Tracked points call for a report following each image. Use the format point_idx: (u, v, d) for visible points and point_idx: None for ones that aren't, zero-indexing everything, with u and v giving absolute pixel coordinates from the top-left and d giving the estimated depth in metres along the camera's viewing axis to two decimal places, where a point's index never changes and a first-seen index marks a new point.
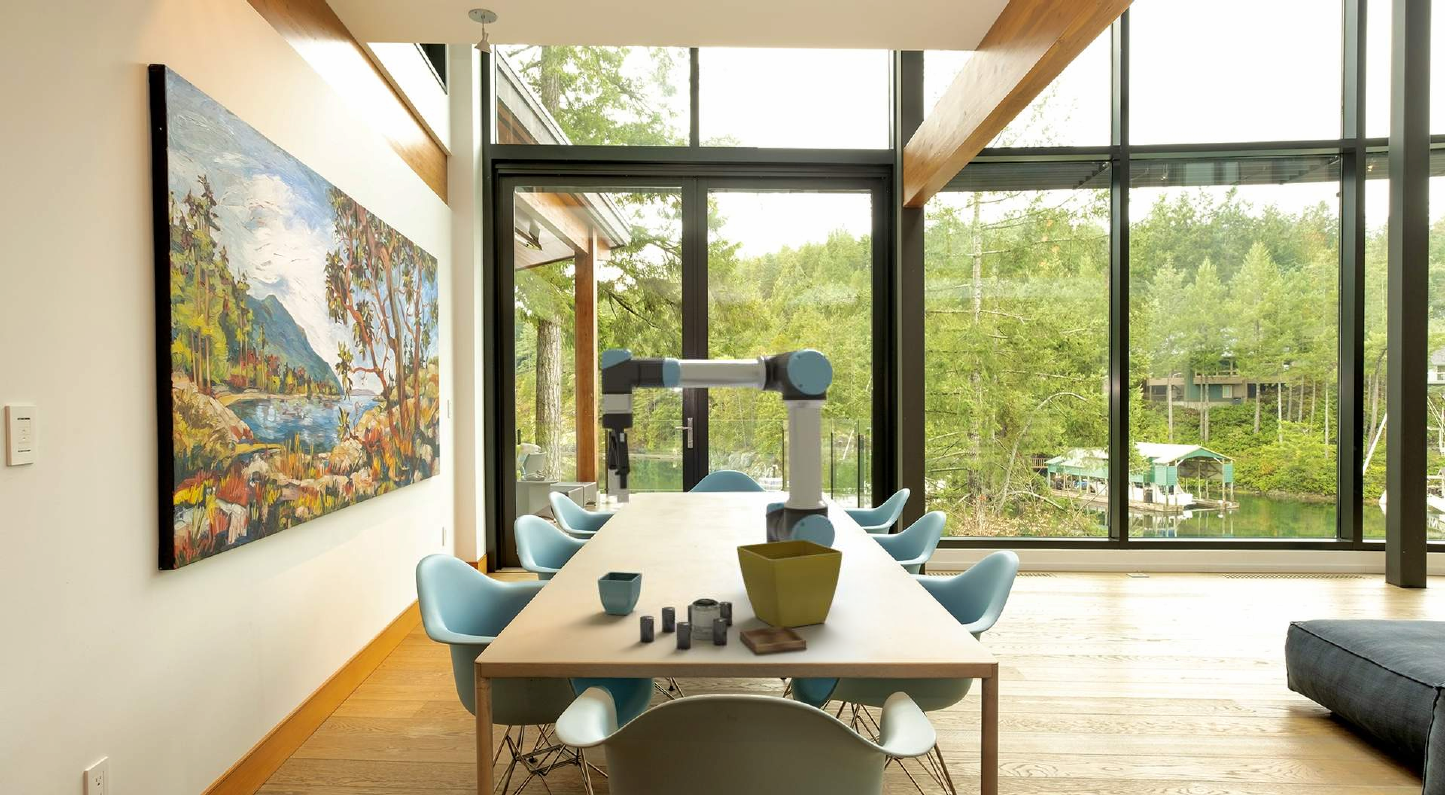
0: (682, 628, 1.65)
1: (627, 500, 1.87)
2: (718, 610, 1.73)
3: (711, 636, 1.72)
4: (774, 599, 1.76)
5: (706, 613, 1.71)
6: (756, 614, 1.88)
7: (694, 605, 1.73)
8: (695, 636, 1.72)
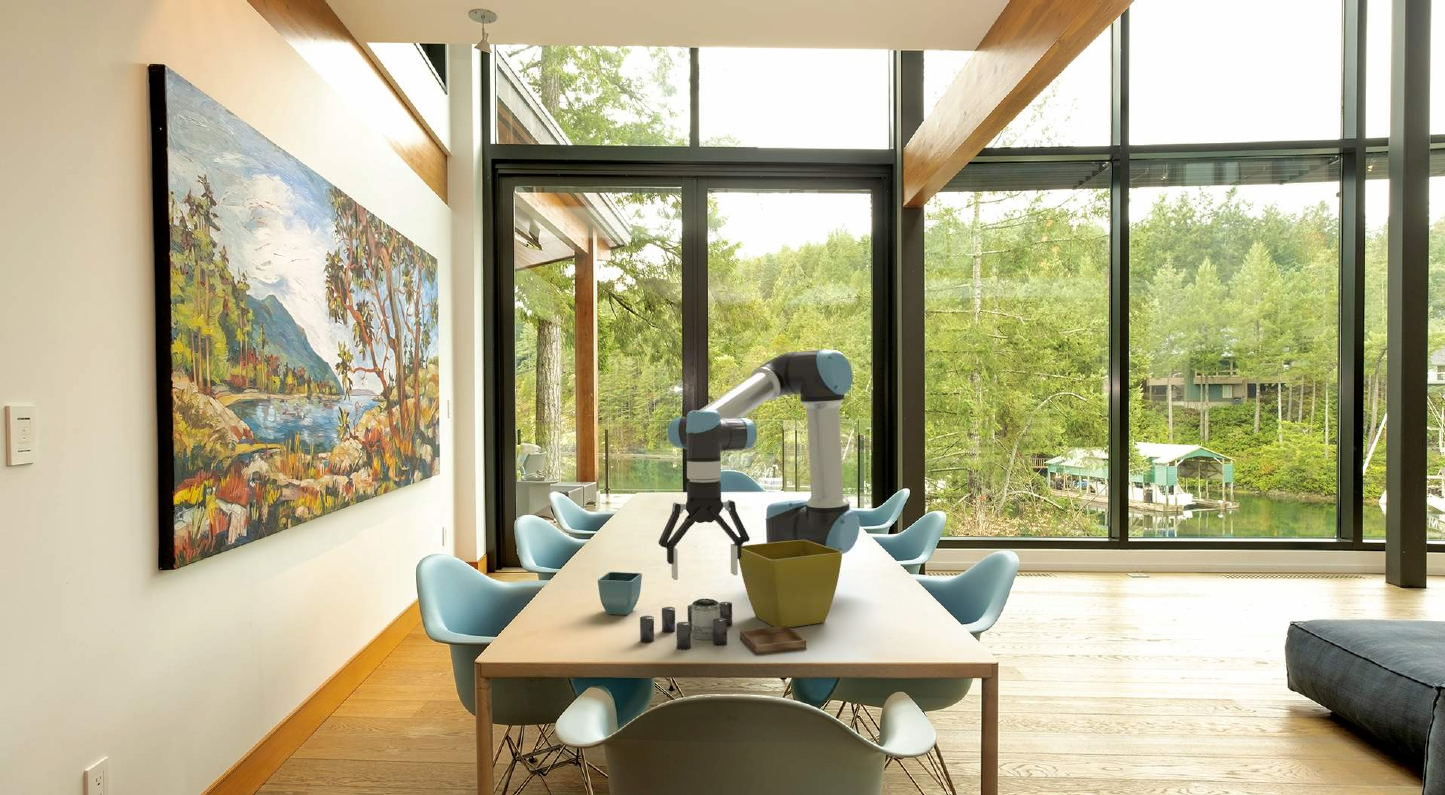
0: (682, 628, 1.65)
1: (674, 577, 1.71)
2: (718, 610, 1.73)
3: (711, 636, 1.72)
4: (774, 599, 1.76)
5: (706, 613, 1.71)
6: (756, 614, 1.88)
7: (694, 605, 1.73)
8: (695, 636, 1.72)
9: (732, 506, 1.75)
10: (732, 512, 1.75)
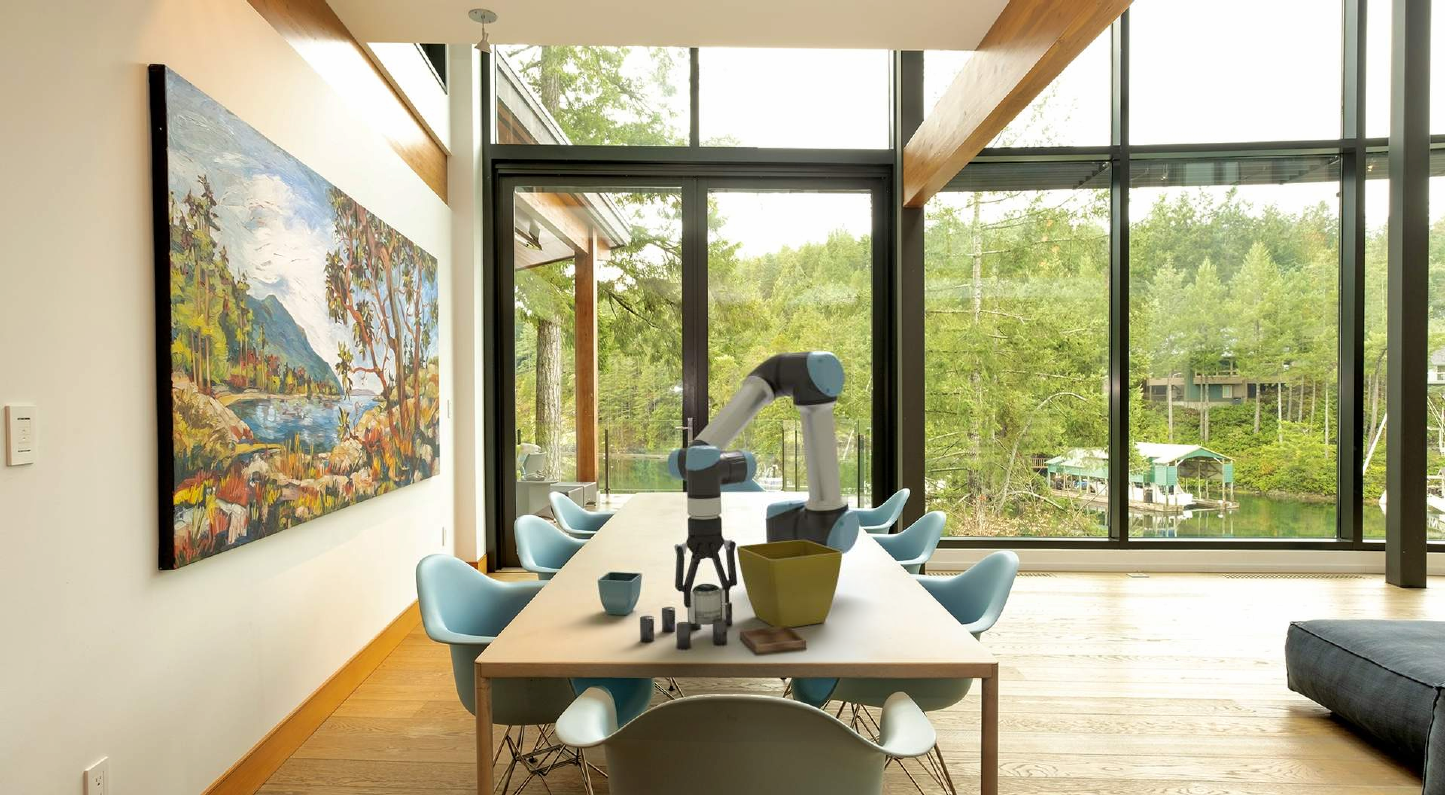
0: (682, 628, 1.65)
1: (691, 621, 1.72)
2: (719, 595, 1.73)
3: (712, 621, 1.72)
4: (774, 599, 1.76)
5: (707, 598, 1.71)
6: (756, 614, 1.88)
7: (695, 590, 1.73)
8: (696, 621, 1.73)
9: (732, 546, 1.75)
10: (730, 552, 1.75)
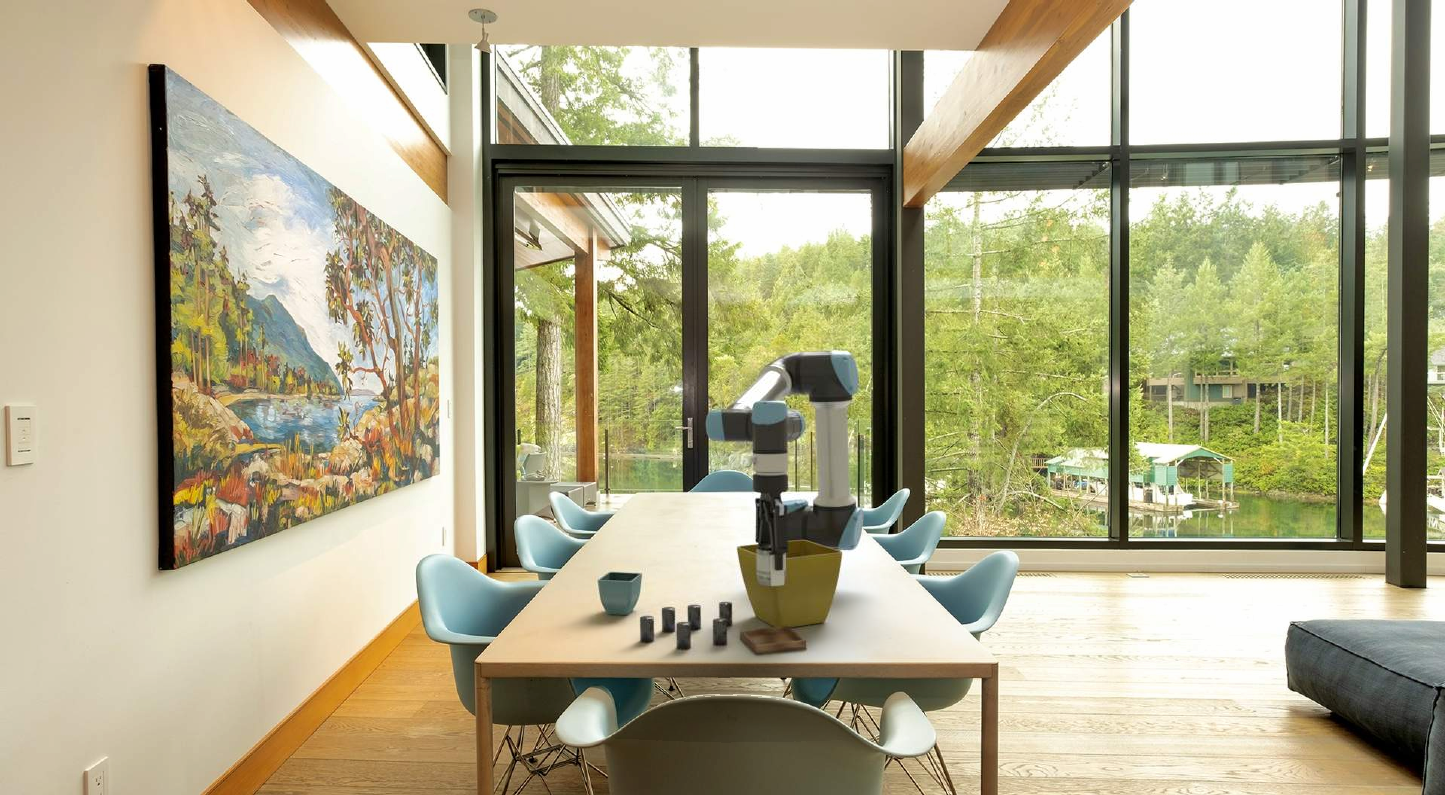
0: (682, 628, 1.65)
1: (782, 583, 1.64)
2: None
3: None
4: (774, 599, 1.76)
5: (785, 554, 1.68)
6: (756, 614, 1.88)
7: None
8: None
9: None
10: None
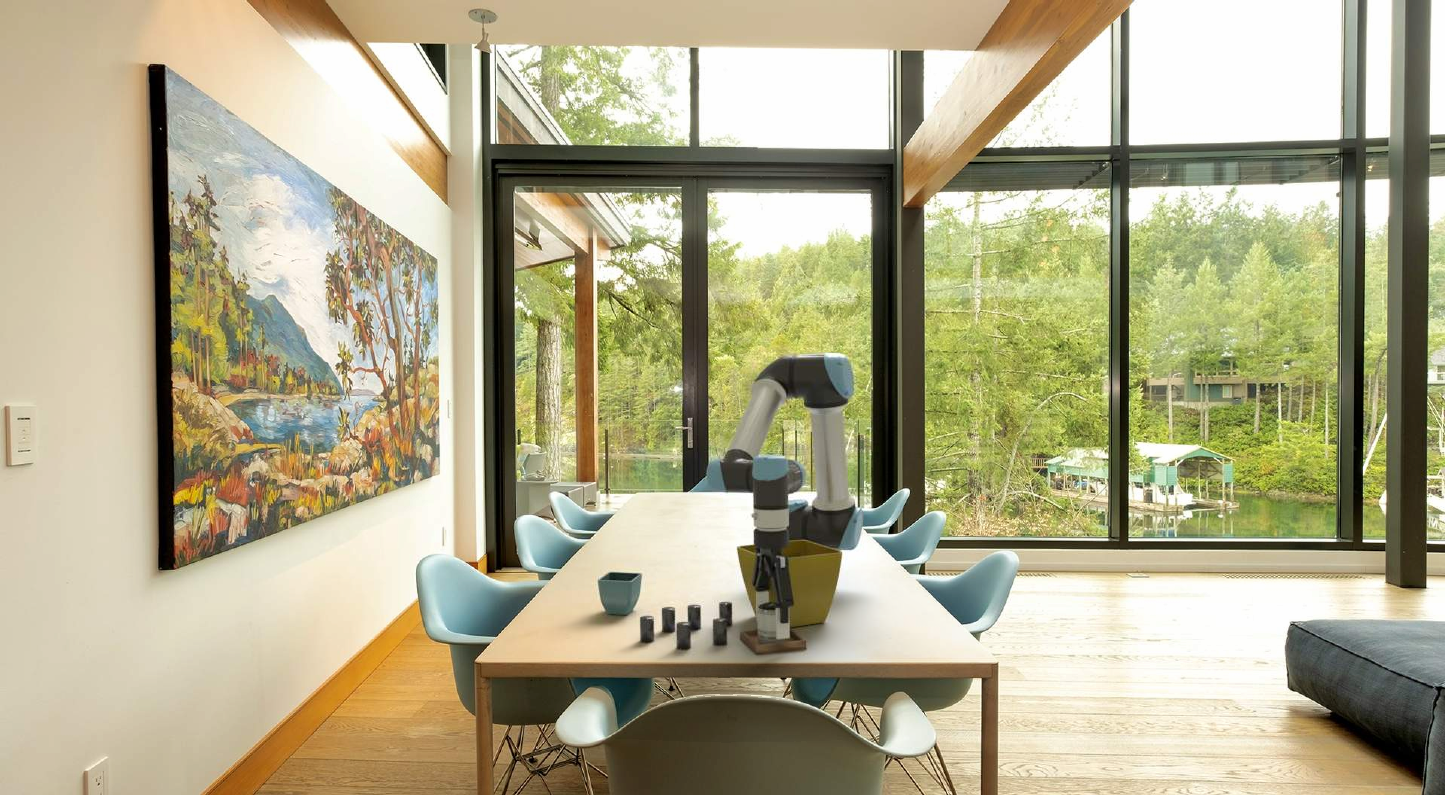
0: (682, 628, 1.65)
1: (788, 635, 1.62)
2: None
3: None
4: (774, 599, 1.76)
5: None
6: None
7: None
8: None
9: None
10: None
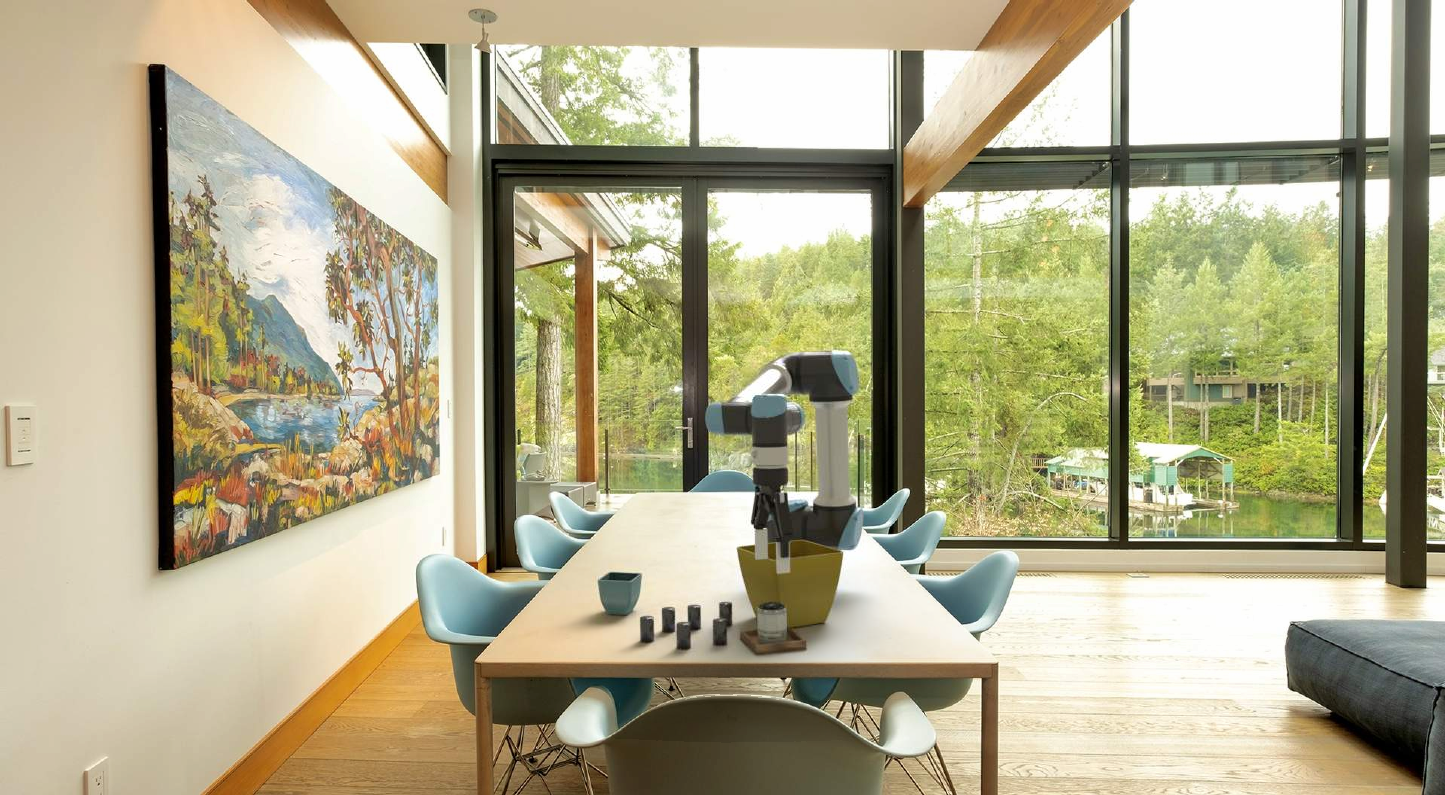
0: (682, 628, 1.65)
1: (788, 570, 1.62)
2: None
3: None
4: (777, 600, 1.75)
5: None
6: (756, 615, 1.87)
7: (780, 610, 1.66)
8: None
9: None
10: None
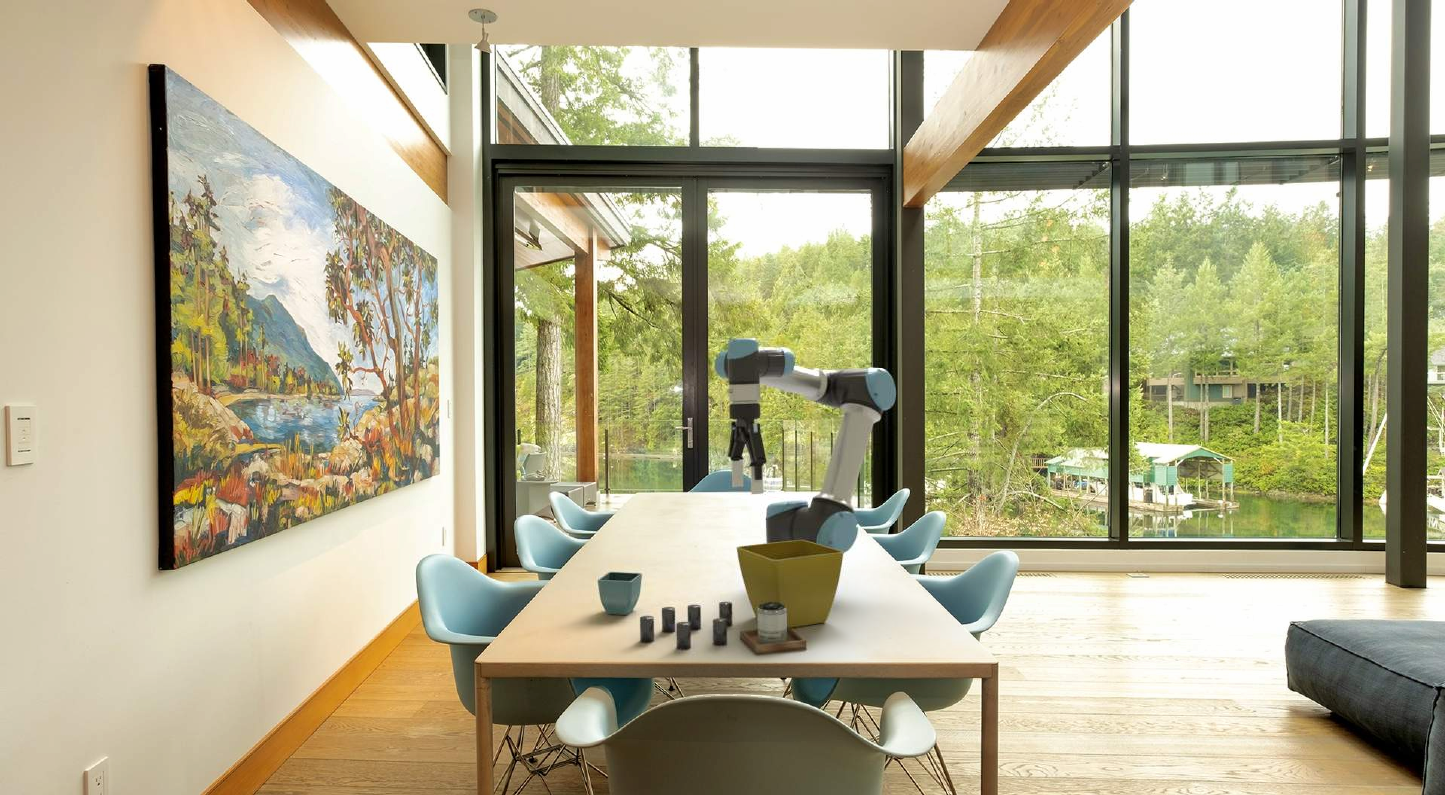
0: (682, 628, 1.65)
1: (761, 491, 1.84)
2: None
3: None
4: (777, 600, 1.75)
5: None
6: (756, 615, 1.87)
7: (780, 610, 1.66)
8: None
9: None
10: None
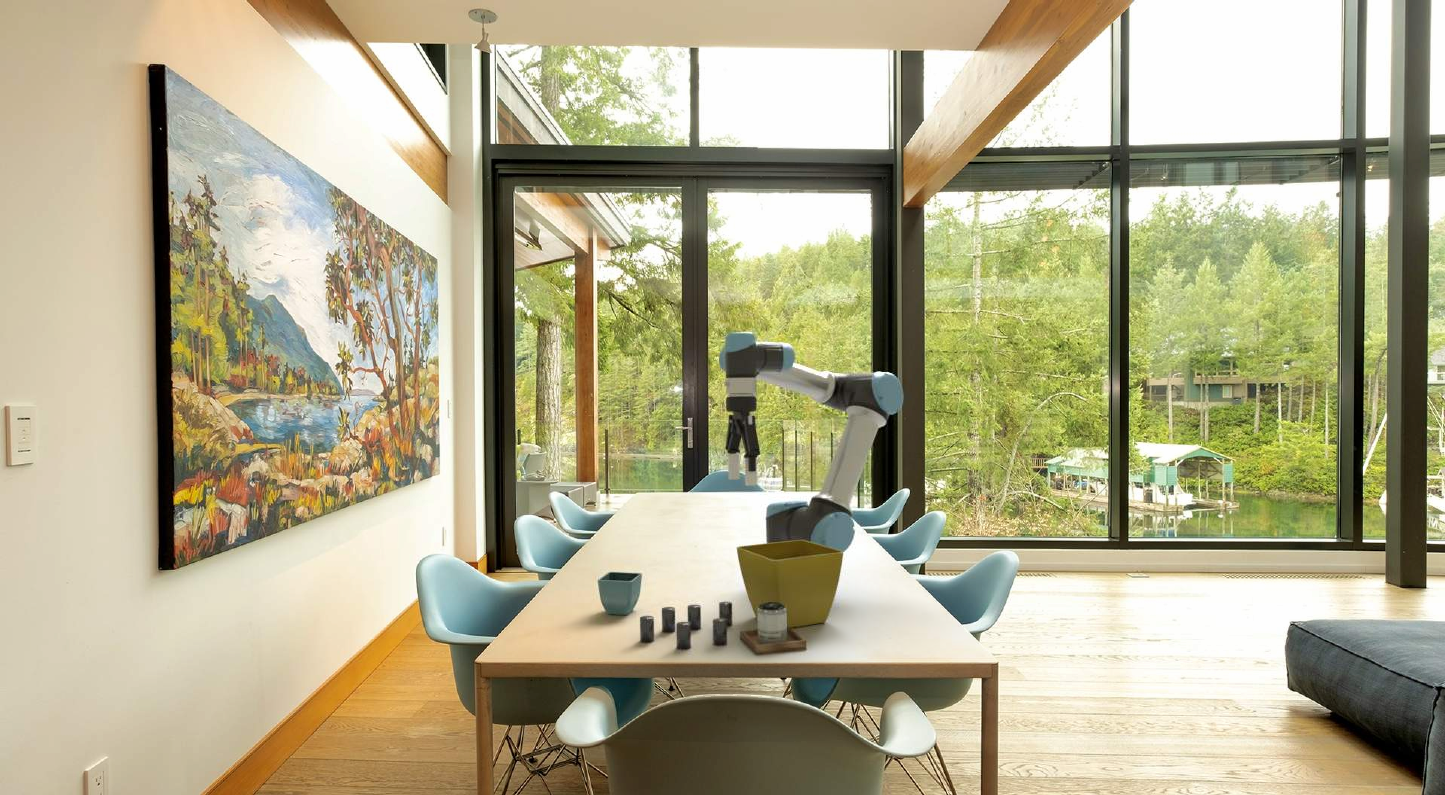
0: (682, 628, 1.65)
1: (755, 483, 1.87)
2: None
3: None
4: (777, 600, 1.75)
5: None
6: (756, 615, 1.87)
7: (780, 610, 1.66)
8: None
9: None
10: None
